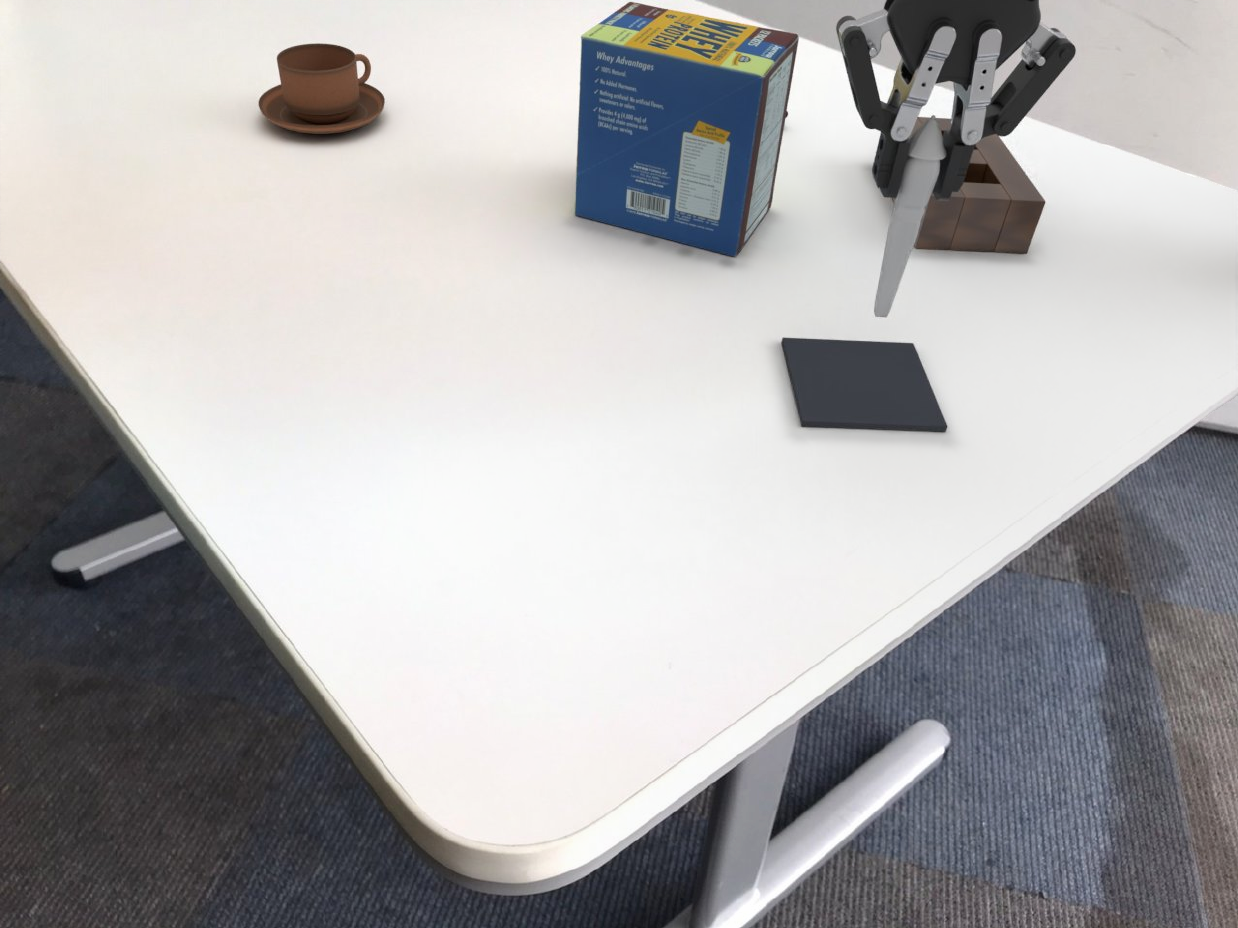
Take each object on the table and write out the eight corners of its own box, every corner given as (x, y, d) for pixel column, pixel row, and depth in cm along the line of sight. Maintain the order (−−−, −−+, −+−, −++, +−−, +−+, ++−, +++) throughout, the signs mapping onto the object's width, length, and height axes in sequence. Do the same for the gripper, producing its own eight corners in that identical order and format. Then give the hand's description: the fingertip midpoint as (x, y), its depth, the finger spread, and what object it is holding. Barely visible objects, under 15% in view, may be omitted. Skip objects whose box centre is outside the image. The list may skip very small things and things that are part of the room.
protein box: (617, 170, 97) (628, -1, 87) (772, 208, 93) (802, 33, 83) (570, 216, 89) (577, 34, 79) (737, 259, 86) (766, 74, 75)
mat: (911, 348, 77) (913, 342, 77) (945, 432, 70) (948, 426, 69) (781, 342, 77) (782, 337, 76) (801, 426, 69) (802, 420, 69)
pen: (900, 328, 68) (959, 126, 59) (860, 323, 68) (913, 121, 59) (897, 308, 70) (953, 109, 61) (858, 303, 70) (908, 104, 61)
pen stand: (973, 168, 102) (988, 120, 99) (1027, 254, 90) (1046, 201, 86) (875, 163, 102) (887, 114, 98) (915, 248, 89) (930, 195, 86)
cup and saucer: (306, 88, 107) (298, 27, 103) (408, 110, 104) (403, 49, 100) (236, 129, 98) (224, 65, 94) (344, 155, 96) (336, 90, 92)
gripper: (878, -111, 49) (811, 217, 60) (1161, -93, 50) (1042, 228, 61) (848, -144, 54) (793, 162, 66) (1103, -127, 55) (1004, 172, 67)
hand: (913, 192), depth 63 cm, fingers closed on pen, 2 cm apart
